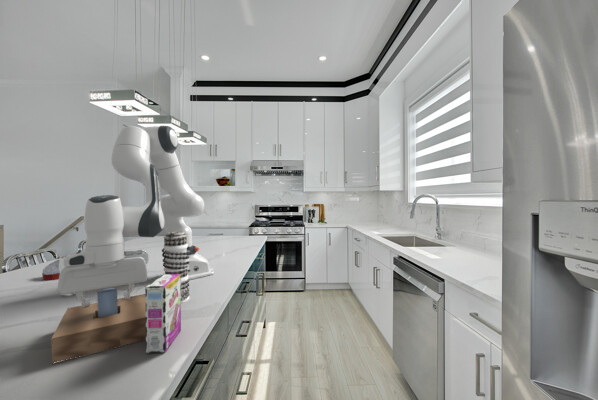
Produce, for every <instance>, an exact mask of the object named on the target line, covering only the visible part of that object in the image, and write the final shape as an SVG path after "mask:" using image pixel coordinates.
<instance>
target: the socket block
mask: <svg viewBox="0 0 598 400" xmlns="http://www.w3.org/2000/svg"><path fill="white" fill-rule="evenodd" d="M145 296H146V295H145V293H142V294H138V295H137V294H136V295H132V296H131V295H130V299H128V300H124V297H122V298H117V308H118V314H114V315H109V316H105V317H100V318H98V302H93V303H90V306H89V307H85V308H82V305H78V306H72V307H68V308H66V310H65V312H64V314H63V316H62V318H61V320H60V321H59V324H58V325H57V328H56V329H55V331H54V333H53V335H52V336H51V362H52V363H54V362H57V361H61V360H66V359H70V358H75V357H78V358H80V357H79V356H82V357H85V356H84V355H86V356H89V355H88V354H90V355H93V354H92V353H94V354H97V353H101V352H104V350H105V351H108V350H107V349H109V350H111V348H113V349H115V347H116V348H119V346H120V347H123V346H122V345H124V346H127V345H126V344H128V345H131V343H132V344H135V343H138V342H143V341H146V302H145V301H146V300H145V299H146V298H145ZM100 351H101V352H100ZM96 352H97V353H96ZM75 359H76V358H75Z"/></svg>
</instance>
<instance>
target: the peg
mask: <svg viewBox="0 0 598 400" xmlns="http://www.w3.org/2000/svg"><path fill="white" fill-rule="evenodd" d="M96 295H97V297H96V298H97V303H98V318H100V317H105V316H109V315H114V314H118V308H117V299H118V289H117V288H116V287H108V288H102V289H99V290H98V291H97V293H96Z"/></svg>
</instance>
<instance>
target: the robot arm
mask: <svg viewBox="0 0 598 400" xmlns="http://www.w3.org/2000/svg"><path fill="white" fill-rule="evenodd" d="M178 146H179V139H178V135H177V133H176V131H175V129H174V128H172V127H171V126H168V125H159V126H145V127H139V126H135V125H128V126H125V127H123V128H122V129H121V131H120V132H119V134H118V135H117V137H116V140H115V142H114V146H113V148H112V153H111V165H112V167H113V169H114V171H116V173H118V174H119V175H121V176H122V177H124V178H126V179H129V180H132V181H135V182H138V183H141V184H143V185H144V186H145V199H146V200H145V202H146V203H145V204H142V205H131V206H130V205H129V206H127V205H125V206H124V205H122V201H121V198H120V197H119V196H117V195H112V194H111V195H110V194H109V195H107V194H106V195H105V194H104V195H96V196H93V197H91V198H90V197H89V198H88V199H87V202H86V205H85V210H84V211H85V212H84V231H85V234H86V241H85V244H84V245H85V247H84V249H83V250H79V251H76V252H74V253H73V252H72V253H71V254H68V256H67V255H66V256H67V257H66V258H65V259H64V266H65V267H64V268H63V270H62V271H61V273H60V276H59V279H58V281H57V282H58V283H57V292H58V293H59V294H60V295H61V296H62V295H65V294H71V293H76V295H75V296H76V298H77V299H78V300H79V301H80V302H81V306H82V308H85V307H89V306H90V304H91V303H90V300H91V299H90V298H86V297H84V294H85V292H89V291H95V290H103V289H107V288H115V287H120V286H125V285H127V286H128V288H129V289H128V290H127V291H126V292H124V293H123V298H124V300H128V299H130V297H131V293H132V292H133V291H134V288H135V284H137V283H143V282H145V283H146V281H147V280H148V278H149V272H148V267H147V264H148V263H149V257H150V255H149V253H148V252H147V251H145V250H143V249H138V250H129V251H128V250H126V251H125V239H124V238H136V237H139V238H154V237H156V236H158V234H160V233H161V232H162V231H163V230H165V235H166V234H167V233H169V232H176V231H182V232H184V233H185V234H186V235H188V236H187V246H188V247H190V248H189V249H187V252H189V254H188V255H187V256H189V258H188V259H187V261H188V262H189V264H187V265H188V266H189V267H188V268H187V271H188V272H187V274H188V279H189V281H191V280H194V279H199V278H202V277H204V278H205V277H206V276H207V277H208V276H213V275H214V274H215V270H214V268H213V267H211V266H210V263H209V261H208V259H207V258H206V257H204V256H203V255H201V254H200V253H198V252H199V251H200V248H199V247H198V246H196V245H193V231H192V228H191V227H190V226H189V225H188V224H186V223H185V221H184V218H196V217H198V216H201V215H202V213H203V212H204V211H205V205H206V204H205V201H204V198H203V197H201V196H200V195H199V194H197V193H196V192H195V191H193V189H192V188H191V187H190V185H188V183H187V181H186V179H185V176H184V174H183V171H182V168H181V165H180V162H179V159H178V156H177V153H176V150H177V148H178ZM161 189H162V190H164V191H165V192H167V194H162V193H161Z"/></svg>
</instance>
